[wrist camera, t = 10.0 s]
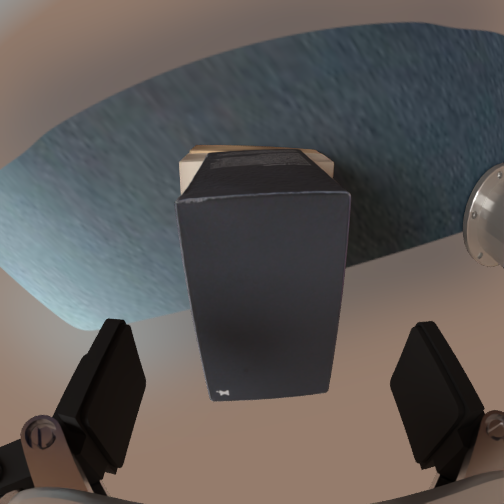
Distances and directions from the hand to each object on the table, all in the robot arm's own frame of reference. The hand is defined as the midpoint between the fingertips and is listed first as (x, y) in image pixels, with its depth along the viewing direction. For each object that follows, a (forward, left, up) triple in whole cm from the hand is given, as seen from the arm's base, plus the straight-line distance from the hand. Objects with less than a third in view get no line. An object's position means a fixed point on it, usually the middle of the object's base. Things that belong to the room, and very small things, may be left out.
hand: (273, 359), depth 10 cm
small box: (0, +1, -13) cm, 13 cm away
